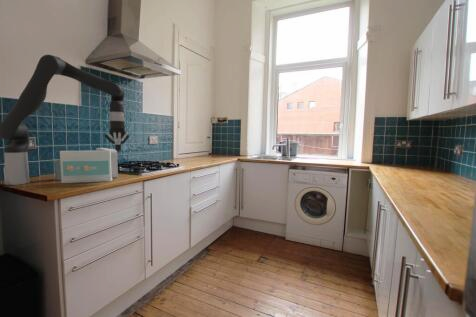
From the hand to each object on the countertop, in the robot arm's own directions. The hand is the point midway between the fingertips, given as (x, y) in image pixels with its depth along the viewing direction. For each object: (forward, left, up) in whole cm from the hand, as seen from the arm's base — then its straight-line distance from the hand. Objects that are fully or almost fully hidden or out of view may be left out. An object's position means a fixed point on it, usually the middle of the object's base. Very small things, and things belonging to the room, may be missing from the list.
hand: (118, 151), depth 136 cm
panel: (-16, 0, -13) cm, 21 cm away
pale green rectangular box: (-18, +4, -18) cm, 26 cm away
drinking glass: (-33, +19, -18) cm, 42 cm away
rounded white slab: (-12, +28, -18) cm, 36 cm away
